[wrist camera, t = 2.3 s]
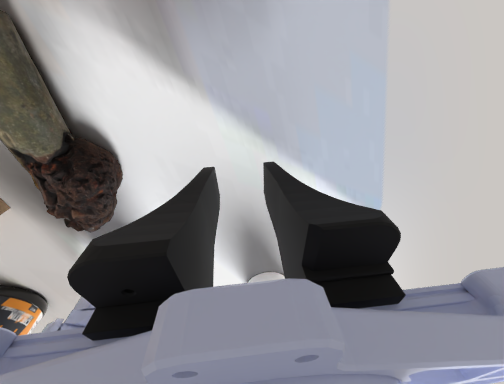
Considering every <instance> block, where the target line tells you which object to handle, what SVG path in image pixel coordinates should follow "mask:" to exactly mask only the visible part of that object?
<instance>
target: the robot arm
mask: <svg viewBox="0 0 504 384" xmlns="http://www.w3.org/2000/svg"><path fill="white" fill-rule="evenodd" d="M264 194H265V200H266V205H267V208H268V211H269V214H270V217H271V221H272V224H273V227H274V230H275V233H276V237H277V241H278V246H279V250H280V255H281V260H282V266H283V271H284V276H285V279H279V280H270V281H261V282H252V283H243V284H234V285H226V286H217V287H213V267H214V244H215V236H216V229H217V222H218V216H219V209H220V194H219V189H218V183H217V178H216V173H215V167H207V168H203V169H202V170H201V171H200V172H199V173H198V174H197V175H196V177H195V178H194V179H193V180H192V181H191V182H190V183H189V184H188V185H187V186H185V187H184V188H183V189H182V190H181V191H180V192H179V193H178V194H177V195H175V196H174V197H173V198H172V199H170V200H169V201H167V202H166V203H165V204H163V205H162V206H160V207H159V208H157V209H155V210H154V211H152V212H150V213H149V214H147V215H145V216H143V217H142V218H140V219H138V220H136V221H134V222H132V223H130V224H128V225H126V226H124V227H121V228H119V229H117V230H114V231H112V232H110V233H107V234H105V235H102V236H100V237H98V238H95V239H93V240H92V241H91V242H90V244H89V245H88V246H87V248H86V249H85V250H84V252H83V253H82V254H81V256H80V257H79V258H78V260H77V261H76V262H75V264H74V265H73V266H72V268H71V269H70V270H69V273H68V276H67V278H68V281H69V284H70V286H71V287H72V288H73V289H74V290H75V291H76V292H77V293H78V294H79V295H81V298H80V299H79V301H78V303H77V304H76V306H75V307H74V309H73V310H72V311H71V313H70V314H69V316H68V317H67V319H66V320H65V322H64V323H62V322H63V320H64V319H60V318H58V319H56V320H55V322H54V321H53V322H51V323H49V324H47V325H46V327H45V328H44V329H43V331H42V332H41V333H35V334H27V335H18V336H17V335H16V334H15V333H14V332H12V331H10V330H8V329H5V328H1V327H0V384H491V383H498V382H504V267H502V268H493V269H485V270H478V271H475V272H472V273H470V274H469V275H467V276H466V277H465V278H464V279H463V280H462V281H461V283H458V284H449V285H442V286H432V287H424V288H416V289H408V290H402V289H401V288H400V286H399V285H398V283H397V282H396V281H395V279H394V278H393V277H392V275H391V274H393V273H394V270H393V268H392V267H391V266H390V265H389V263H388V260H389V259H390V257H391V256H392V254H393V252H394V251H395V249H396V248H397V246H398V244H399V242H400V238H401V235H400V234H401V233H400V231H399V229H398V227H397V226H396V225H395V224H394V223H393V222H392V221H391V220H390V219H389V218H388V217H387V216H386V215H385V214H384V213H383V212H382V211H381V210H376V209H372V208H368V207H363V206H359V205H355V204H352V203H348V202H345V201H342V200H339V199H336V198H333V197H331V196H328V195H326V194H323V193H321V192H319V191H317V190H315V189H313V188H311V187H309V186H307V185H305V184H303V183H302V182H300V181H299V180H297V179H296V178H294V177H293V176H291V175H290V174H289V173H287V172H286V171H285V170H283V169H282V168H281V167H280V166H279V165H277V164H276V163H275V162H265V163H264Z"/></svg>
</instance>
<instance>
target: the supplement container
mask: <svg viewBox="0 0 504 384" xmlns="http://www.w3.org/2000/svg"><path fill="white" fill-rule="evenodd" d="M47 307H48V306H47V303H46V301H45V300H44V299H43V298H42V297H41V296H39V295H37V294H35V293H33V292H30V291H28V290H24V289H20V288H16V287H9V286H0V327H1V328H5V329H8V330H10V331H12V332H14V333H15V334H16V335H17V336H18V335H27V334H30V333H31V332H32V330H33V329H34V327H35V326H36V325H37V323H38V322H39V321H40V319H41V318H42V317H43V316H44V314H45V313H46V311H47Z"/></svg>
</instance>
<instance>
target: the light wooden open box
mask: <svg viewBox="0 0 504 384" xmlns="http://www.w3.org/2000/svg"><path fill="white" fill-rule="evenodd" d="M8 209H10V207H9V206H8V205H7V204H6V203H4V202H3V201H2V200H1V199H0V215H1V214H2V213H4V212H5V211H7V210H8Z"/></svg>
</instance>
